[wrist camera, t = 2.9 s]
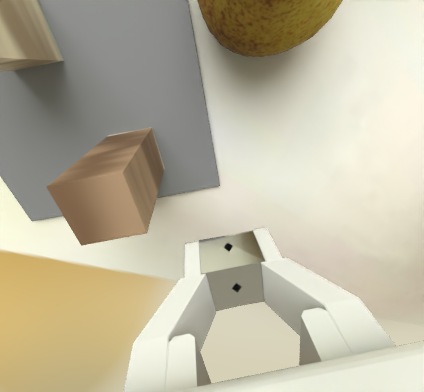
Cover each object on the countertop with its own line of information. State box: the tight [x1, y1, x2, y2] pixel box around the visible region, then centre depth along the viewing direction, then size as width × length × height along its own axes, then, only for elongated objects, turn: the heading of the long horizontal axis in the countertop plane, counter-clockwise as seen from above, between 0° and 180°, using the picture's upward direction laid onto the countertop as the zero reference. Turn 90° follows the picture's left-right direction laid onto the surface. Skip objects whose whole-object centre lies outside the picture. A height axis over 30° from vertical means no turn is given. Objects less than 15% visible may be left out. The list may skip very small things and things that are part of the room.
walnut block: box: [47, 127, 164, 245], centre depth 17 cm, size 4×4×10 cm
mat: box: [0, 0, 220, 221], centre depth 20 cm, size 20×18×1 cm
